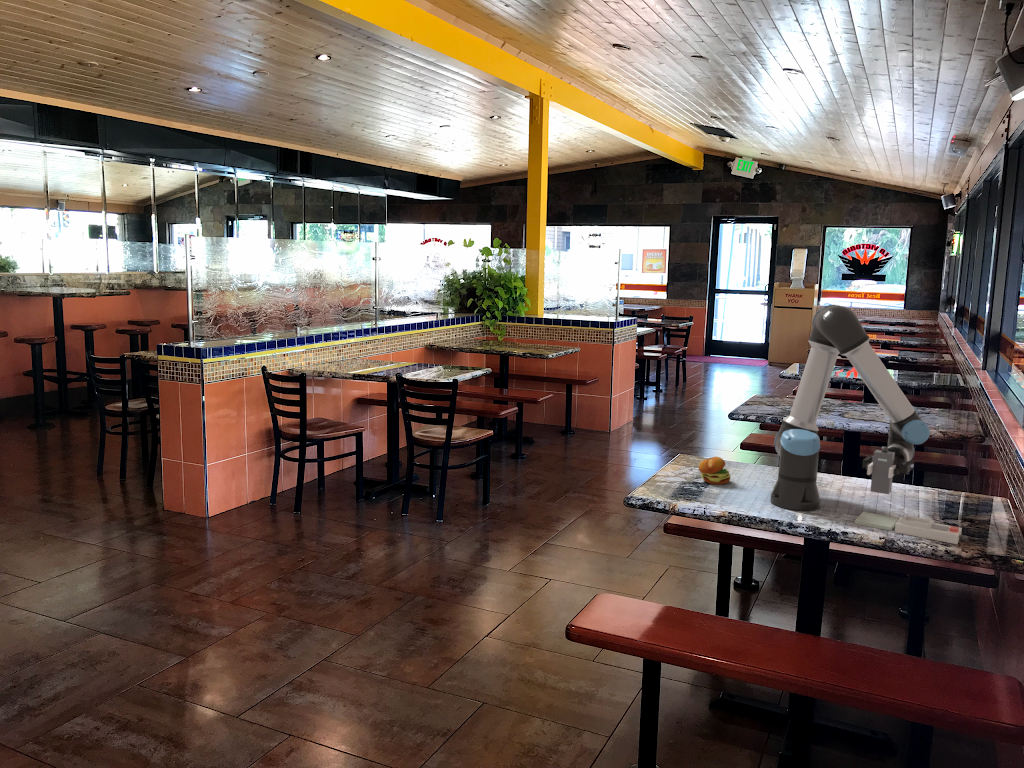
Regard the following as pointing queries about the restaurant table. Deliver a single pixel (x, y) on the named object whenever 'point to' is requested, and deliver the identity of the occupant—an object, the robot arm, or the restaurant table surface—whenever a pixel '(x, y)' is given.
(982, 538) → the restaurant table surface
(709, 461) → the cheeseburger
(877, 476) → the block
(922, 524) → the power strip
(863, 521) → the mat
